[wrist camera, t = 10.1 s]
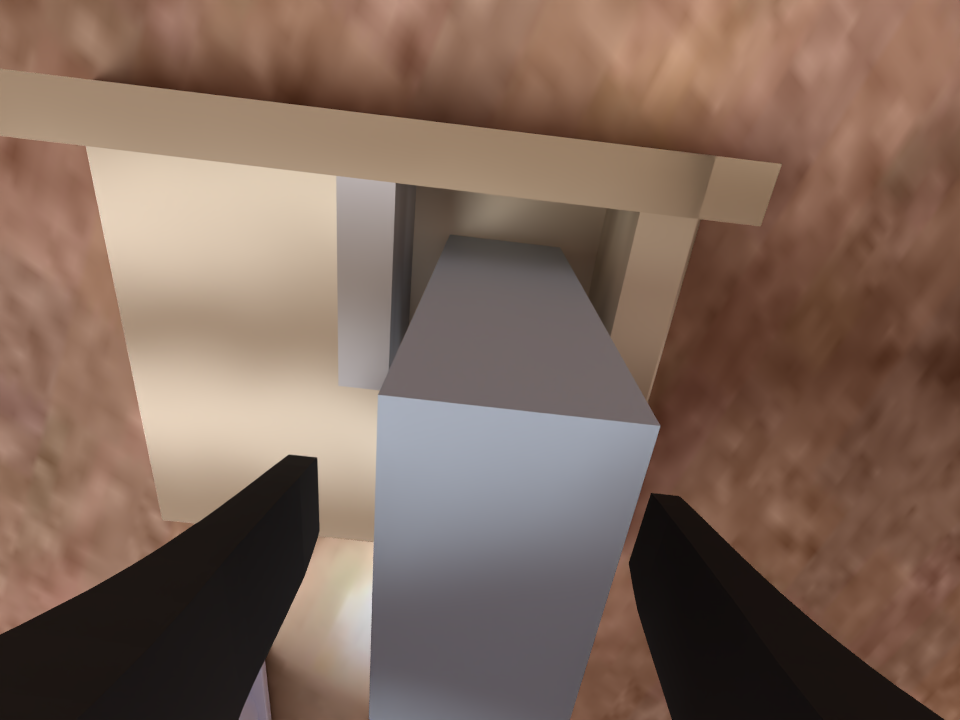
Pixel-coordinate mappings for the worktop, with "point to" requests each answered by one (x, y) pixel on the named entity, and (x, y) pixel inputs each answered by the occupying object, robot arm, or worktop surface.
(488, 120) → the worktop surface
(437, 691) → the book
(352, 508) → the book rack
